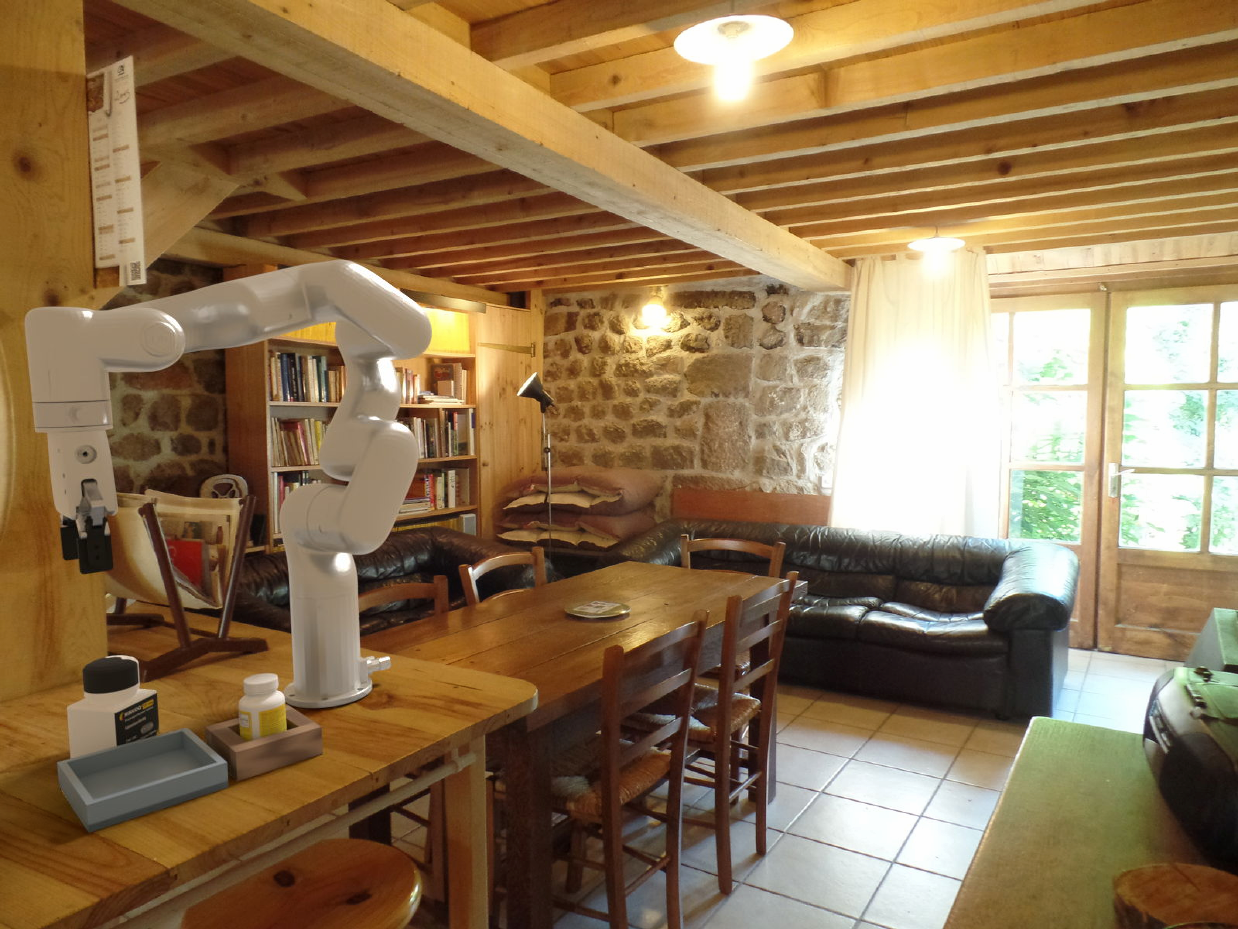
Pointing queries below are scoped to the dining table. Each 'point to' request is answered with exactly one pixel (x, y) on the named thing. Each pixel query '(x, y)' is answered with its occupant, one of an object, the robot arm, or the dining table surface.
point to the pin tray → (140, 777)
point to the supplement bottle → (261, 707)
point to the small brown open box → (265, 745)
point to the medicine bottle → (111, 707)
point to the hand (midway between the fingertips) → (87, 564)
